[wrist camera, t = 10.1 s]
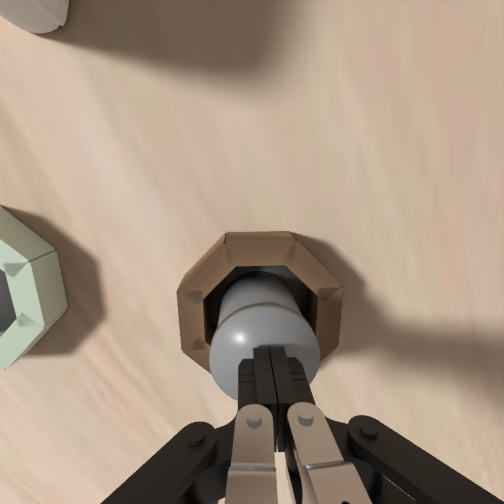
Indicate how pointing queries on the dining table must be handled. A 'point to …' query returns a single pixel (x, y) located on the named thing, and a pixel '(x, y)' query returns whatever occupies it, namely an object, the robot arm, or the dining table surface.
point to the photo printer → (35, 14)
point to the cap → (259, 327)
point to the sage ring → (26, 289)
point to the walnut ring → (256, 259)
